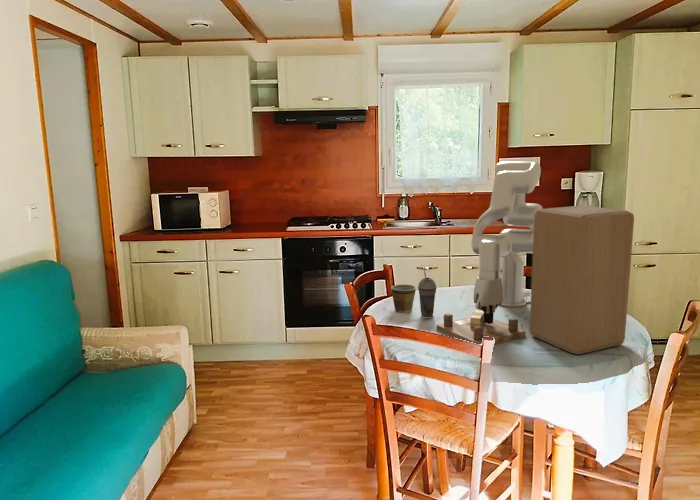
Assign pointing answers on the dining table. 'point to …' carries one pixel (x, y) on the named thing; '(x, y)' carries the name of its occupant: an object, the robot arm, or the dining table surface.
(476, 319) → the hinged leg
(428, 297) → the beverage cup
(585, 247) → the wooden block
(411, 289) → the ceramic cup
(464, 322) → the board
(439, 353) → the dining table surface
